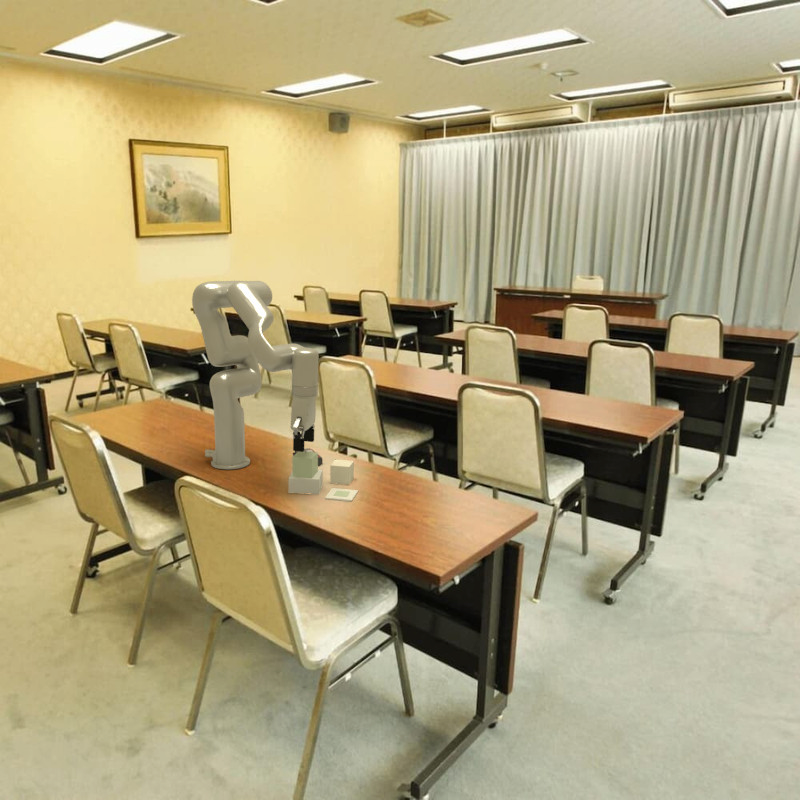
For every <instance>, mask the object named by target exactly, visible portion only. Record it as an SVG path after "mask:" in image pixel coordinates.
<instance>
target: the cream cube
mask: <svg viewBox="0 0 800 800" xmlns="http://www.w3.org/2000/svg"><path fill="white" fill-rule="evenodd" d="M329 467H330V470H329V471H330V473H329V475H330V478H329V480H330V483H337V484H336V485H341V484H351V483H352V482H351V481H353V480H354V479H353V478H355V475H354V474H355V473H354V471H355V470H354V469H355V468H354V467H355V461H354V460H348V459H335V460H333V462H332V463H330V466H329Z"/></svg>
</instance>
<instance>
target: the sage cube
mask: <svg viewBox="0 0 800 800" xmlns="http://www.w3.org/2000/svg"><path fill="white" fill-rule="evenodd" d="M318 455H319V452H317V451H315V452H299V451H298V452H297V453H296V454H295V455H294V456H293V455H292V457H291V458H292V470H293V476H294V477H306V478H313V476H314V475H315V474H316V473H317V472H318V469H319V465H318Z"/></svg>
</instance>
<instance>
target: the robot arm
mask: <svg viewBox="0 0 800 800" xmlns="http://www.w3.org/2000/svg"><path fill="white" fill-rule="evenodd" d="M191 301H192V302H191V303H192V309H193V311H194V315H195V317H196V319H197V321H198V324H199V326H200V331H201V335H202V339H203V344H204V347H205V352H206V355H207V359H208V361H209V363H210V364H211V366H213V367H216V368H217V367H218V368H219V367H228V366H234V365H235V366H236V368H231V369H227V370H226V369H225V370H221V371H219V372H216V373H215V374H213V375H212V376H211V378H210V380H209V391H210V395H211V399H212V406H213V407H212V408H213V421H214V422H213V423H214V443H215V445H214V446H215V448H214V450H213V449H205V450H204V456H205V457H206V458H212V459H211V462H210V465H211V467H213V468H215V469H218V470H237V469H242V468H243V469H244V468H245V467H247V466H248V465H250V463H251V458H249V457H248V456H246V439H245V437H246V436H245V435H246V434H245V433H246V432H245V412H244V408H243V406H242V405H241V403H240V401H239V400H238V399H240V398H245V397H249V396H253V395H256V394H257V393H259V392H260V390H261V388H262V385H263V384H262V383H263V380H262V374H261V370H260V367H262V369H263V370H265V371H267V372H268V373H269V372H270V373H276V372H280V371H288V370H291V396H292V402H291V403H292V404H291V414H290V415H291V416H290V429H291V430H292V431H293V433H292V438H293V439H292V446H293V447H292V451H294V452H295V451H299V452H303V451H304V449H305V442H309V443H310V442H311V443H314V441H315V423H316V414H317V413H316V407H317V406H316V398H317V397H318V395H319V394H318V393H319V390H318V389H319V358H320V357H319V351H318V350H317V349H315V348H311V347H305V346H303V345H300V344H298V343H286V344H285V343H283V344H277V345H271V344H270V342H269V341H268V340H267V338H266V337H265V335H264V334H263V333H264V332H266V331H267V330H268V329H269V328H270V327H271V326H272V324H273V322H274V318H275V317H274V314H273V312H272V311H271V310H270V308H269V307H268V306H270V305H271V304H272V301H273V293H272V289H271V288H270V286H269V285H268V284H267V283H266V282H264V281H262V280H215V281H206V282H202V283H199V284H198V285H197V286H195V288H194V290H193V292H192V297H191ZM221 308H222V309H223V308H224V309H226V308H227V309H229V308H233V310H234V311H235V312H236V313H237V315H238V316H239V318H240V319H241V320H242V322H243V323H244V324H245V325H246V328H247V329H248V330H249V331H248V335H247V336H245V335H241V334H240V335H239V334H237V335H231V333H230V329H229V324H228V321H227V320H226V318H225V317H224V315H222V313H221V312H220V311H219V310H218V309H221ZM259 365H260V366H259Z"/></svg>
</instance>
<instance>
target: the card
mask: <svg viewBox="0 0 800 800" xmlns="http://www.w3.org/2000/svg"><path fill="white" fill-rule="evenodd" d="M358 493H359V490H358V489H356V490H355V489H346V488H338V487H337V488H334V487H332V488H331V489H330V491H329V492H328V493H327V495H326V496H325V497H324V499H325V500H328V499H330V500H329V501H331V500H332V501H339V500H340V501H339V502H342V501H343V502H350V501H352V500H354V499H355V498H356V496H357V494H358ZM352 502H353V501H352Z"/></svg>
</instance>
